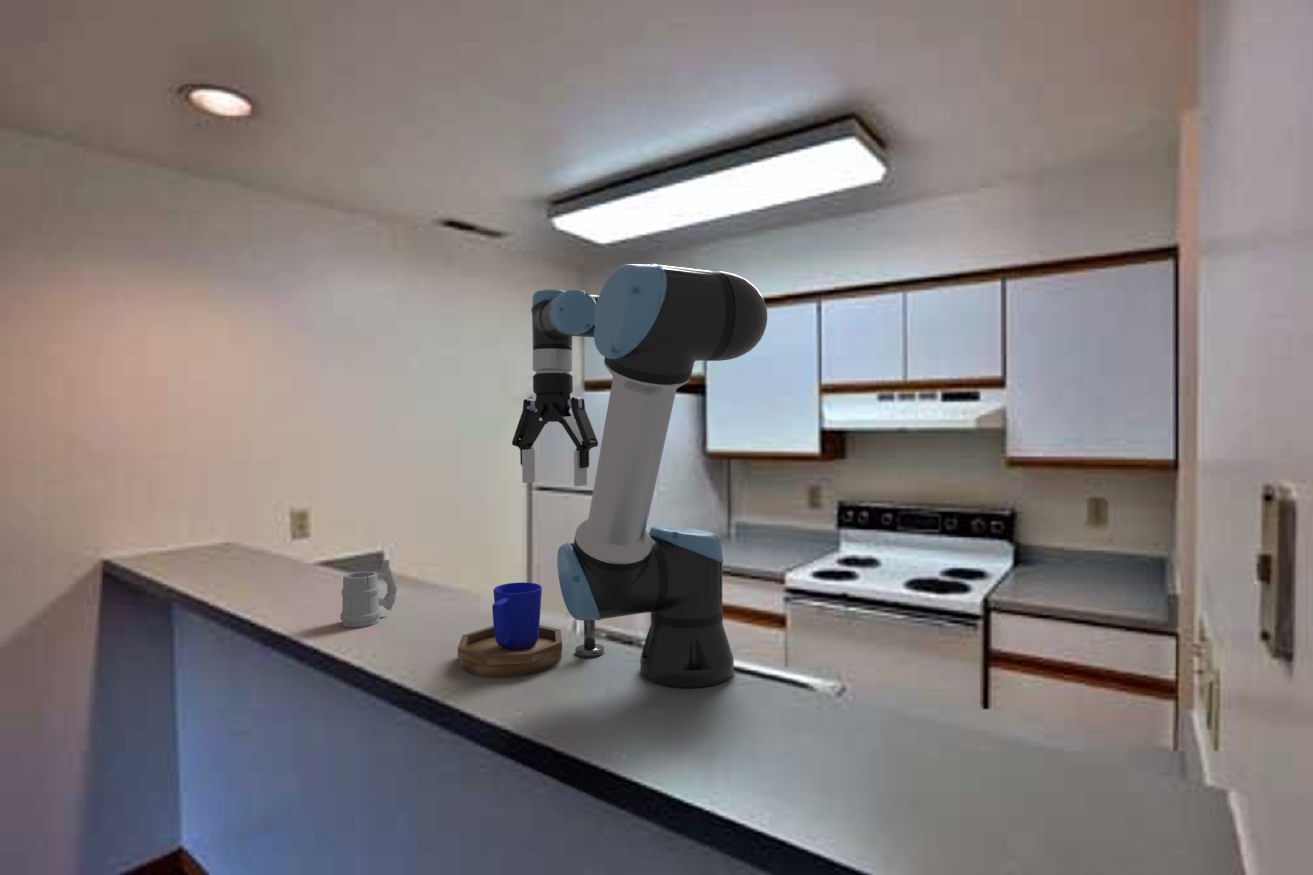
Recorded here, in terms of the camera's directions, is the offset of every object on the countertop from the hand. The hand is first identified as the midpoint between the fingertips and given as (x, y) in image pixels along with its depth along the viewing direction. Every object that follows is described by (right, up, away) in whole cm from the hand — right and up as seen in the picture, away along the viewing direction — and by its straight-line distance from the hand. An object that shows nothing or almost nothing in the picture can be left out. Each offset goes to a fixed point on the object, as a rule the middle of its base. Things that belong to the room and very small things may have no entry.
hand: (553, 484), depth 132 cm
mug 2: (-5, -27, -15) cm, 31 cm away
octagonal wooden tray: (-5, -29, -14) cm, 33 cm away
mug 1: (-39, -29, +10) cm, 50 cm away
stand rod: (+8, -29, -11) cm, 32 cm away
